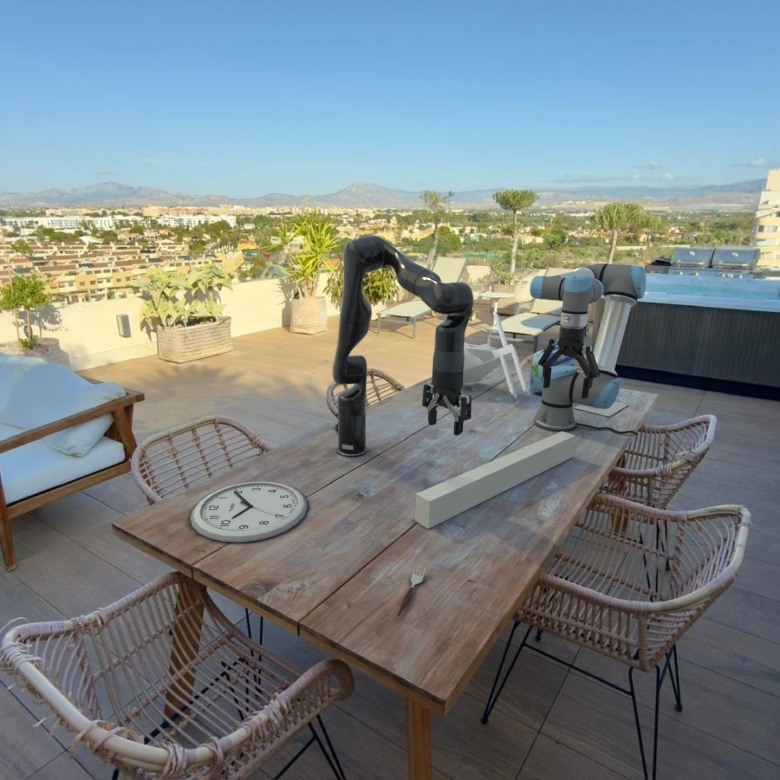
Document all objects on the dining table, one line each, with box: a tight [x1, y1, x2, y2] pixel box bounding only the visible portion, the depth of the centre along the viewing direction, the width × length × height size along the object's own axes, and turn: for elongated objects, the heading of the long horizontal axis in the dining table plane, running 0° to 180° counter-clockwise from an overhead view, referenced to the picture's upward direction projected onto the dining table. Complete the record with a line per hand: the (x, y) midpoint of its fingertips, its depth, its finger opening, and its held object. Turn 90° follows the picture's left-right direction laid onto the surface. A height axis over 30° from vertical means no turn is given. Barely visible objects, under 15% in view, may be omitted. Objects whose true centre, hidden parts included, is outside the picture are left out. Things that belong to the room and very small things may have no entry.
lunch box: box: [529, 345, 575, 394], centre depth 244 cm, size 26×11×21 cm, turn 135°
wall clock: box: [190, 481, 308, 544], centre depth 139 cm, size 30×2×30 cm
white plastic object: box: [463, 310, 531, 400], centre depth 245 cm, size 37×45×31 cm
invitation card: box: [573, 401, 629, 418], centre depth 226 cm, size 21×1×15 cm
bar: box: [414, 431, 576, 530], centre depth 155 cm, size 68×5×8 cm, turn 131°
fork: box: [397, 562, 427, 617], centre depth 109 cm, size 3×16×2 cm, turn 160°
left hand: (444, 429), depth 131 cm, fingers open, 8 cm apart
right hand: (565, 392), depth 167 cm, fingers open, 13 cm apart
